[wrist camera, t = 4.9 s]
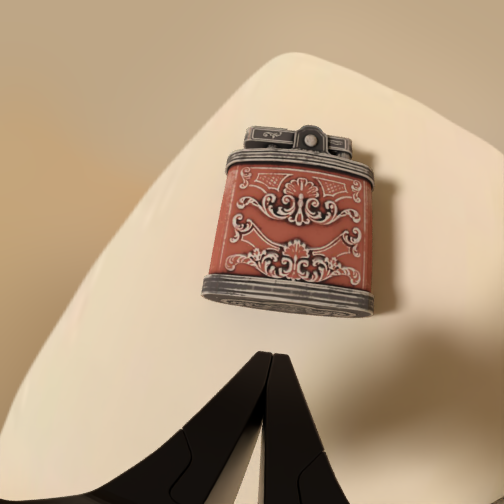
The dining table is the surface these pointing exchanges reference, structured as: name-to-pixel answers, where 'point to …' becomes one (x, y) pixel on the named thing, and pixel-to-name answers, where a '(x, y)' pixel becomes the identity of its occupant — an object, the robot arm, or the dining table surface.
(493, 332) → the dining table surface
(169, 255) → the dining table surface
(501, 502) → the grey smooth stone
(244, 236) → the lighter
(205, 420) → the robot arm
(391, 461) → the dining table surface
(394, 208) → the dining table surface
